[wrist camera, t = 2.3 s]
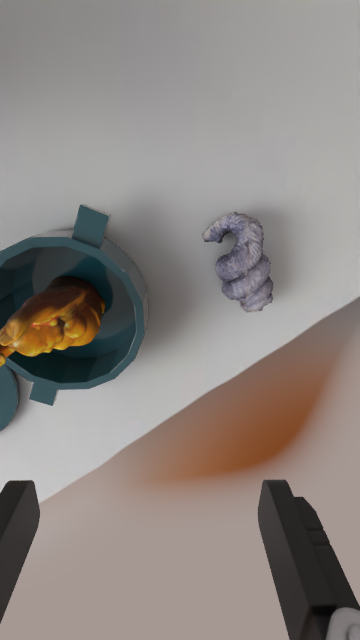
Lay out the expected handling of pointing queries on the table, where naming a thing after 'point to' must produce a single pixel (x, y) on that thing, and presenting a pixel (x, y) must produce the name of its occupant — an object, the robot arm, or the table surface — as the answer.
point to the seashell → (243, 262)
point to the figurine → (54, 319)
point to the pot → (109, 280)
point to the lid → (7, 396)
